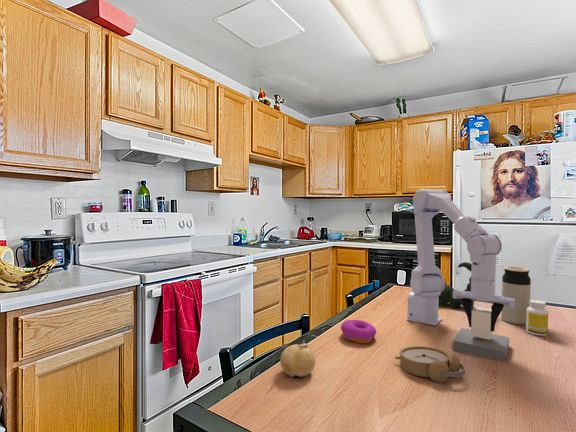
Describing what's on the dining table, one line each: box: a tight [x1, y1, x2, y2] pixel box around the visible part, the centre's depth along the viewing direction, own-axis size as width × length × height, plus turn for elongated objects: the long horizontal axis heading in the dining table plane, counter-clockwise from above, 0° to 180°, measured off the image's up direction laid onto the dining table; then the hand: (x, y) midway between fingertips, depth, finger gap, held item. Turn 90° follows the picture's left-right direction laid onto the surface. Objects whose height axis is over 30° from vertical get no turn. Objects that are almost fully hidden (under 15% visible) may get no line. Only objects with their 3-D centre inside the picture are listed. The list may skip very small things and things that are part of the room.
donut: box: [340, 319, 377, 344], centre depth 101 cm, size 10×10×5 cm
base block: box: [452, 327, 510, 363], centre depth 94 cm, size 12×12×2 cm
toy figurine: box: [439, 261, 472, 309], centre depth 135 cm, size 9×19×25 cm
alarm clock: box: [394, 345, 466, 383], centre depth 81 cm, size 11×5×15 cm
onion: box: [279, 339, 316, 378], centre depth 79 cm, size 8×8×7 cm
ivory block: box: [470, 306, 493, 340], centre depth 94 cm, size 4×4×7 cm
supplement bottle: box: [525, 299, 549, 337], centre depth 105 cm, size 5×5×10 cm
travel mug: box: [500, 265, 532, 326], centre depth 116 cm, size 8×8×18 cm
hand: (481, 328), depth 94 cm, fingers closed on ivory block, 4 cm apart
